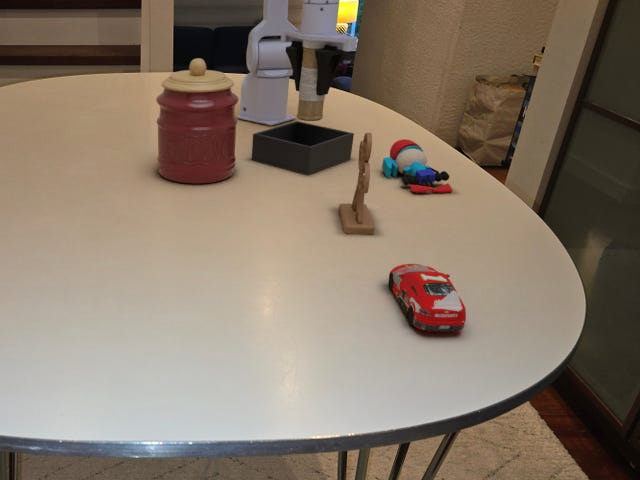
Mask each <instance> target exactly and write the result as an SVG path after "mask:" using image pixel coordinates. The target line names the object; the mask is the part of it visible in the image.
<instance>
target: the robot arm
mask: <svg viewBox="0 0 640 480" xmlns="http://www.w3.org/2000/svg"><path fill="white" fill-rule="evenodd" d="M301 7H302V8H301V17H300V19H301V20H300V29H299V28H297V27H296V26H294V25H293V24H292V22H290V21H289V20H288V19H289V18H288V17H289V0H263V7H262V8H263V11H262V12H263V13H262V15H263V16H262V20H261V21H260V22H259V23H258V24H257V25H256V26H255V27H253V28H252V29H251V30H250V31H249V34H248V41H247V48H246V68H247V70H248V71H249V72H248V73H246V75H245V76H244V77H243V80H242V82H241V87H240V104H239V114H238V115H236V118H237V119H240V120H244V121H248V122H254V123H258V124H263V125H266V126H276V125H278V124H279V125H280V124H282V123H285V122H290V121H292V120H295V119H296V117H295V115H294V116H293V115H289V114H287V110H288V101H289V100H288V98H289V89H290V88H289V87H290V77H291V76H293V79H294V88H295V91H296V92H299V88H300V79H301V70H302V60H303V48H304V47H303V40H307V41H321V42H323V43H324V44H326V45H325V47H324V49H321V50H315V55H316V61H317V88H316V90H317V95H319V96H321V95H325V96H326V95H328V94H329V91H330V89H331V86H332V82H333V80H334V77H335V75H336V73H337V71H338V69H339V67H340V65H341V63H342V62H343V60H344V59H345V57H346V56H347V54H348V52H354V51H356V50H357V41H358V36H352V35H348V34H343V33H339V32H338V30H337V25H338V17H339V9H340V0H302V6H301ZM264 37H280V38H264ZM329 43H330V44H329Z"/></svg>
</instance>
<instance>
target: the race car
mask: <svg viewBox="0 0 640 480" xmlns="http://www.w3.org/2000/svg"><path fill="white" fill-rule="evenodd" d="M450 277H451V276H450V274H449V273H446V274H445V273H444V272H441V271H438V270H436V269H435V268H433V267H430V266H428V265H423V264H420V263H404V264H399V265H397V266H395V267H393V268H392V269H391V270H390V272H389V274H388V289H389V291H392V292H393V294H394V296H395V297H396V299H397V302H398V303H399V304H400V306H401V308H402V309H403V311H404V313H405V315H407V322H408V325H411V326H414V327H415V328H416V329H418V330H422V331H428V332H429V333H431V332H432V333H433V332H454V333H459V331H463V330H464V327H465V323H466V320H467V312H466V306H465V304H464V302H463V300H462V299H461V297H460V295H459V293H458V291H457V290H456V288H455V286H454V284H453V282H452V281H451V280H450Z"/></svg>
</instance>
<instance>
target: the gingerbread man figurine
mask: <svg viewBox="0 0 640 480" xmlns="http://www.w3.org/2000/svg"><path fill="white" fill-rule="evenodd" d="M372 147H373V134H372V132H365V133H364V135H363V140H361V141H360V143H359V148H358V160H357V161H358V163H357V164H358V176H357V184H356V187H355V190H354V195H353V198H352V203H339V205H338V213H339V214H338V215H339V217H340V220H341V225H342V228H343V232H344V234H347V235H348V234H349V235H350V234H351V235H375V231H376V227H375V224H374V222H373V219H372V216H371V214H370V210H369V208H368V206H367V205H368V204H366V203H365V194H368V193H369V188H370V181H371V180H370V179H371V166H370V162H369V161H370V159H371V156H372V155H371V154H372V149H373V148H372Z"/></svg>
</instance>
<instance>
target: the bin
mask: <svg viewBox="0 0 640 480" xmlns="http://www.w3.org/2000/svg"><path fill="white" fill-rule="evenodd" d="M354 136H355V133H354V132H350V131H346V130H341V129H336V128H332V127H327V126H321V125H318V124H312V123H307V122H303V121H298V120H296V121H293V122H292V121H291V122H289V123H286V124H281V125H279V126H275V127H272V128H269V129H265V130H262V131H258V132H254V133H253V134H252V147H251V161H254V162H258V163H261V164H265V165H268V166H269V165H270V166H273V167H277V168H279V169H284V170H288V171H292V172H295V173H299V174H303V175H307V176H310V175H312V174H315V173H317V172H321V171H323V170H326V169H328V168H332V167H334V166H336V165H339V164H342V163H344V162H347V161H350V160H351V159H352V152H353V151H352V150H353V143H354Z"/></svg>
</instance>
